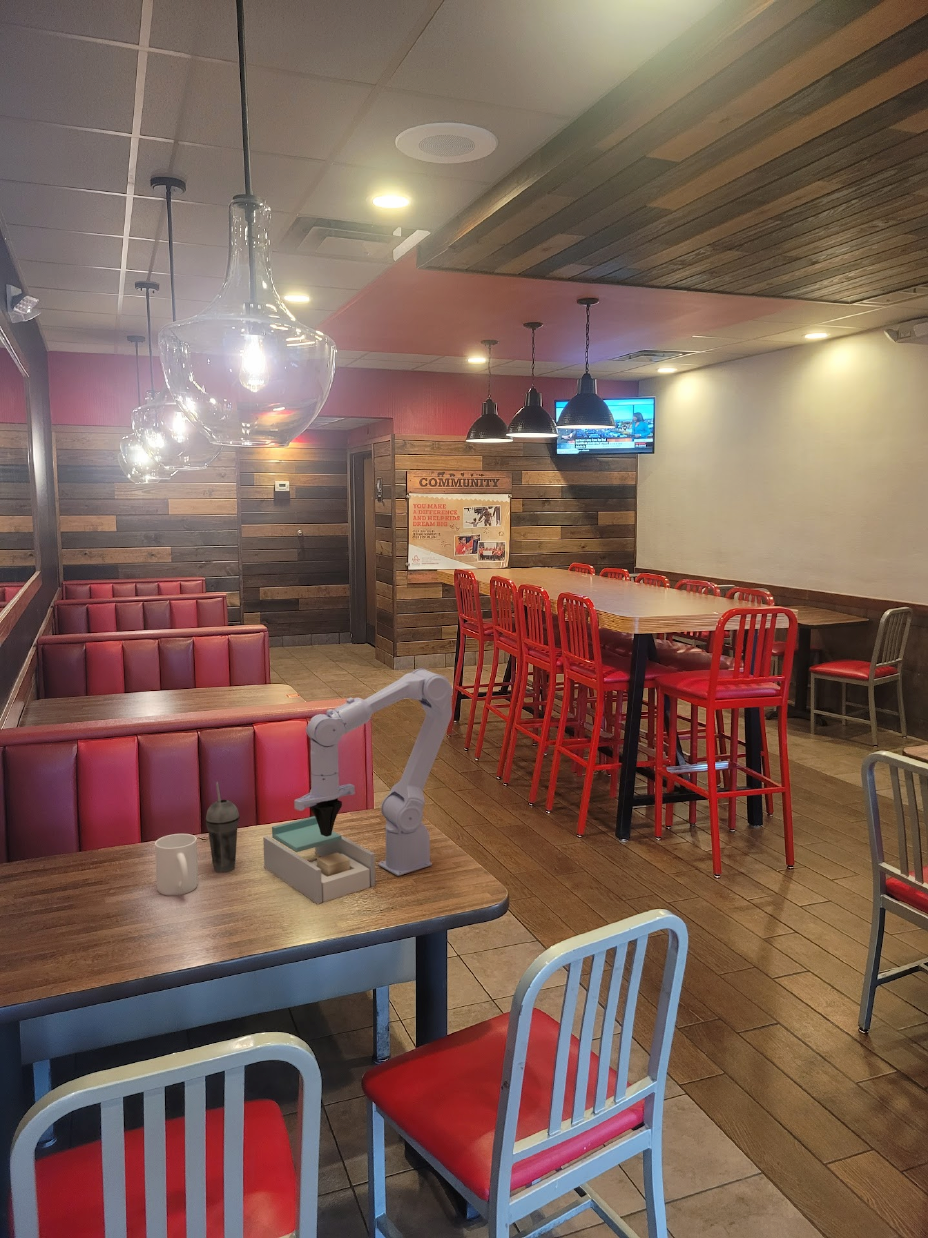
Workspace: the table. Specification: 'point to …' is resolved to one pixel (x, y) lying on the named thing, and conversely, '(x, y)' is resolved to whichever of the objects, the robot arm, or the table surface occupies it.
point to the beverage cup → (222, 833)
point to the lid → (302, 834)
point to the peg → (333, 864)
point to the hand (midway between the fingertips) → (326, 834)
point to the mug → (176, 864)
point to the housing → (309, 875)
